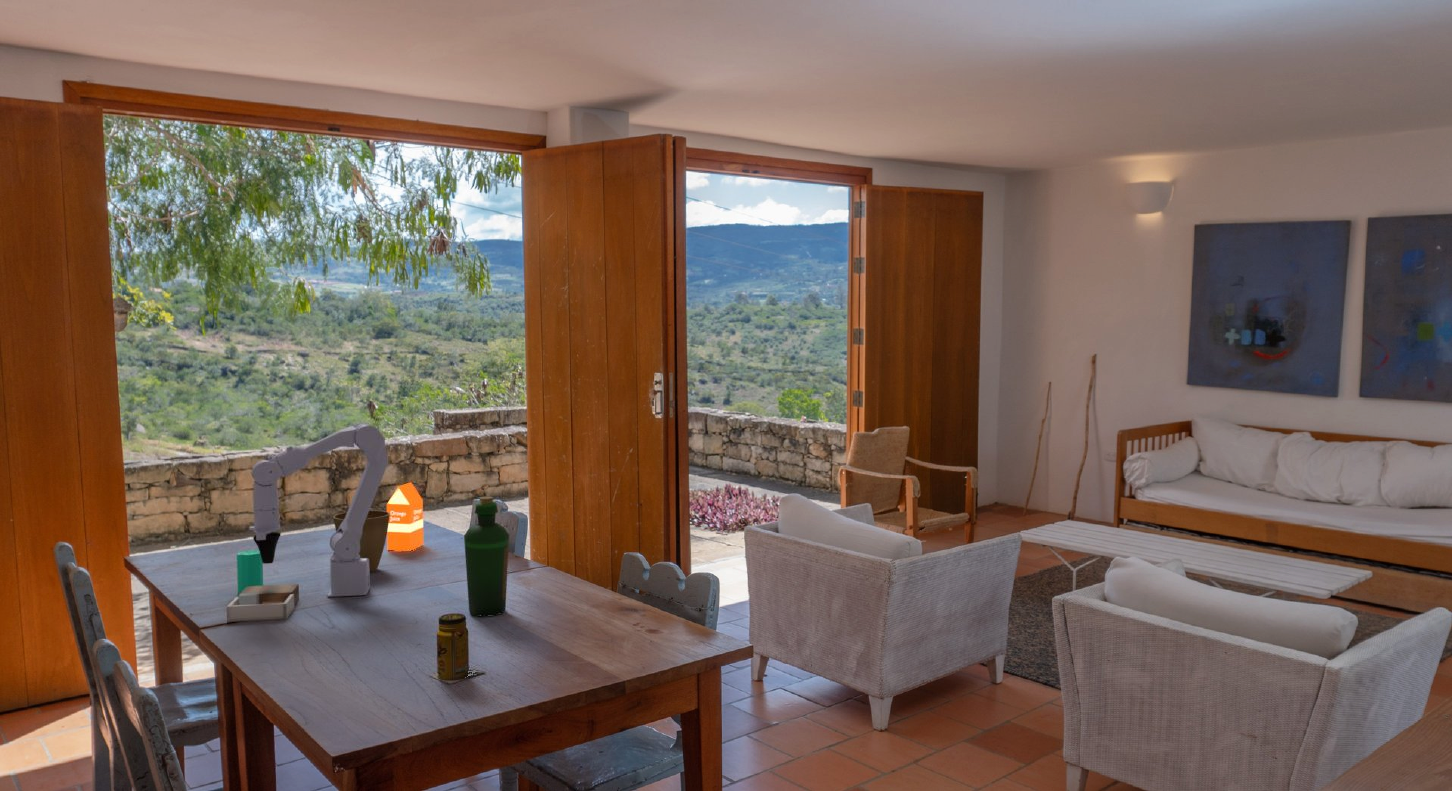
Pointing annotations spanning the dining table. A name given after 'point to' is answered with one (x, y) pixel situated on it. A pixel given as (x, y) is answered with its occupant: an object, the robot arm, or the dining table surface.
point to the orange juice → (405, 519)
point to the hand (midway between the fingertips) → (268, 562)
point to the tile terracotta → (271, 602)
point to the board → (274, 592)
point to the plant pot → (370, 535)
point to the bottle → (486, 561)
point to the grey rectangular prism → (249, 599)
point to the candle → (249, 569)
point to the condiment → (452, 649)
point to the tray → (259, 610)
